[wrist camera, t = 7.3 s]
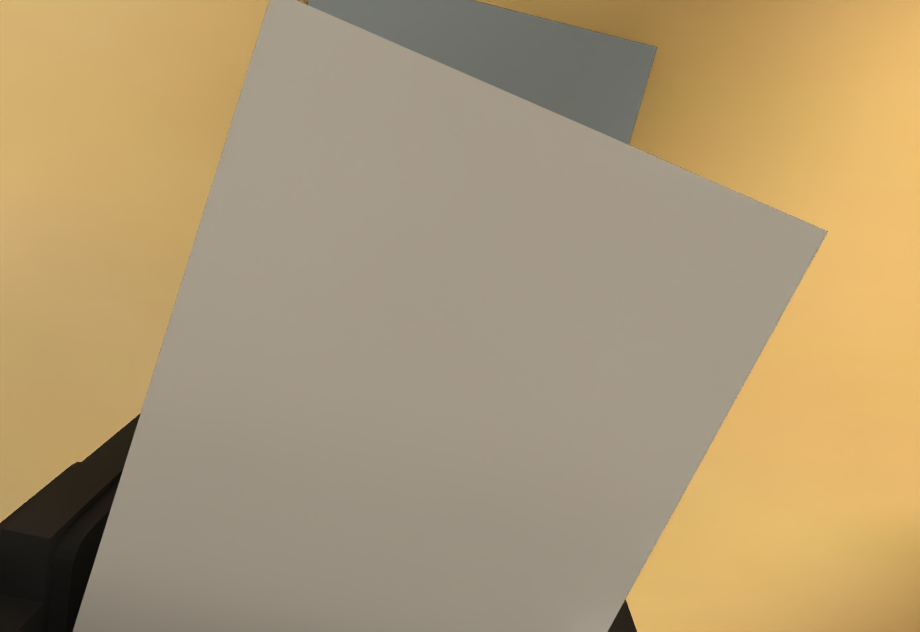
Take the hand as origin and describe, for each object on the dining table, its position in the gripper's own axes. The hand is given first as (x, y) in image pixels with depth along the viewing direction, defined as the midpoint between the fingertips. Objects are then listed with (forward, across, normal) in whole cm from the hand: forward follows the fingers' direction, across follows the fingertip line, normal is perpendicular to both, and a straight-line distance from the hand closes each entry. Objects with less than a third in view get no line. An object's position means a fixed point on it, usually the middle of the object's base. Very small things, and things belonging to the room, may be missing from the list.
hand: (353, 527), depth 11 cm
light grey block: (+1, 0, 0) cm, 1 cm away
